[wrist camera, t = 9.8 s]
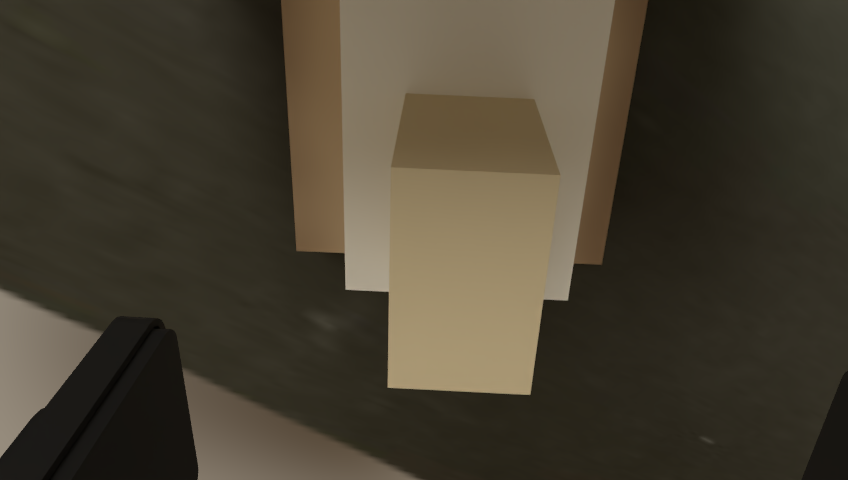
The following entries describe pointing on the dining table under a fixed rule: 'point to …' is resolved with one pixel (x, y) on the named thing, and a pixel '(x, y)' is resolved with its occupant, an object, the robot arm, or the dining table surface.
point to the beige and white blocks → (467, 174)
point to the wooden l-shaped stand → (322, 124)
